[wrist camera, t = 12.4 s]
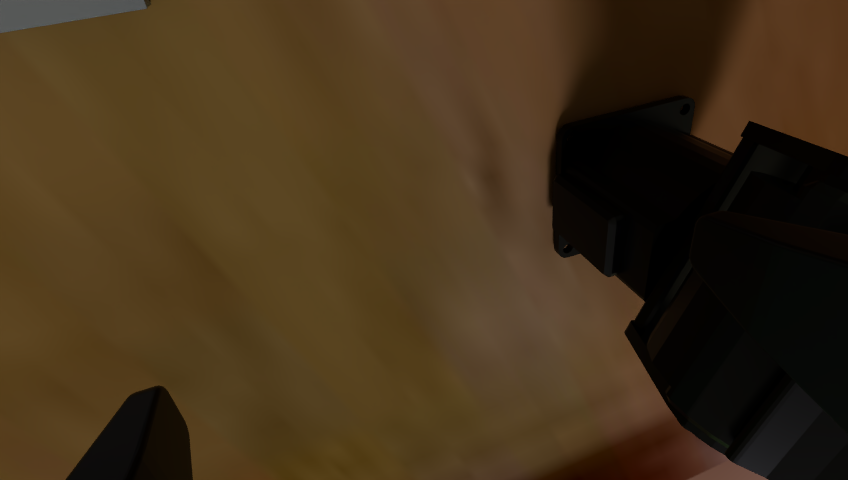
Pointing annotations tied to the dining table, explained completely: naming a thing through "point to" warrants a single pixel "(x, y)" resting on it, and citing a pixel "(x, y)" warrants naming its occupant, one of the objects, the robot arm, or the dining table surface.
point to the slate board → (59, 11)
